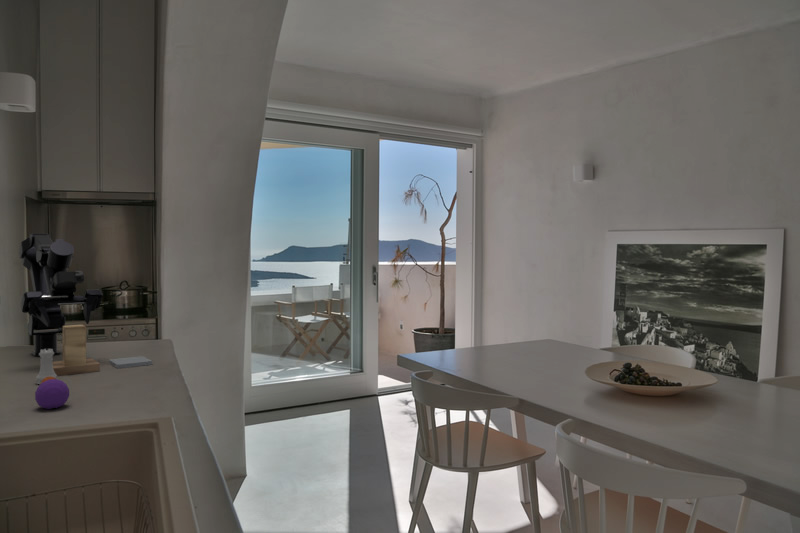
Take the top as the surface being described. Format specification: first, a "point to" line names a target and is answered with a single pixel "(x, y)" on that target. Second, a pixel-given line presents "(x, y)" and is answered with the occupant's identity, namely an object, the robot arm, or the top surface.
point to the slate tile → (130, 362)
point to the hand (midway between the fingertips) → (68, 324)
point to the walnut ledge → (76, 367)
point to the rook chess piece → (45, 365)
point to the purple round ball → (51, 393)
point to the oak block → (74, 345)
